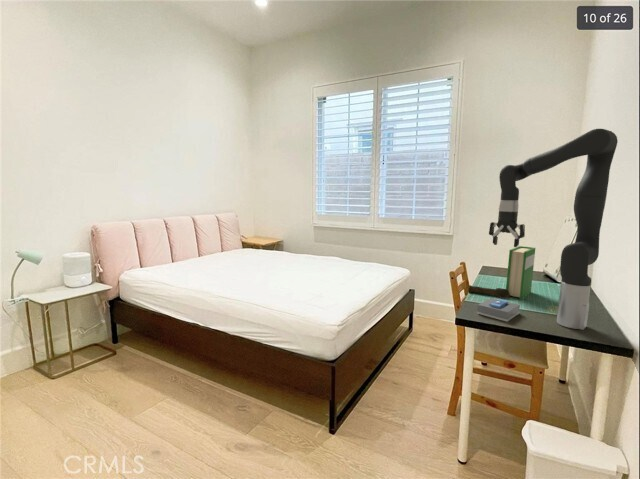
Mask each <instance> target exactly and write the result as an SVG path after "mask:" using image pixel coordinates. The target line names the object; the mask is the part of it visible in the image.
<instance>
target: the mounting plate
mask: <svg viewBox="0 0 640 479" xmlns="http://www.w3.org/2000/svg"><path fill="white" fill-rule="evenodd" d="M497 300H498V299H497V298H493V297H491V298H490V297H489V298H488V299H486V300H484V301H483V302H481V303H478V305H477V312H476V313H477V314H478V315H482V316H486V317H488V318H492V319H497V320H498V321H499V320H500V321H504V322H509V321H510V320H512V319H513V318H515V317H516V316H518V315H519V314H520V309H521V308H520V306H521V304H518V303H514V302H509V301H508V303H507V304H506V307H504V308H497V307H493V306H490V304H491V303H493V302H495V301H497Z"/></svg>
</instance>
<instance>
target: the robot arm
mask: <svg viewBox="0 0 640 479" xmlns="http://www.w3.org/2000/svg"><path fill="white" fill-rule="evenodd" d="M618 141H619V140H618V136H617V135H616V134H615V133H614V132H613V131H611V130H609V129H605V128H594V129H591V130H589V131H587V132H585V133H584V134H581V135H580V136H578V137H576V138H574V139H572V140H571V141H569V142H566V143H564V144H563V145H560V146H558V147H556V148H554V149H551V150H547V151H545V152H543V153H539V154H537V155H534V156H531V157H529V158H527V159H525V160H524V161H523V162H522V163H519V164H516V165H512V164H508V165H507V164H506V165H504V166H503V167H502V168H501V170H500V172H499V178H498V180H499V185H500V190H501V192H500V202H499V205H498V206H499V207H498V218H497V219H498V220H497V222H495V221H492V222H490V224H489V230H488V235H489V236H492V244H493V245H495V246H497V245H498V238H499V237H498V236H499V235H500V234H501V233H502V234H503V233H506V234H511V235H512V236H513V238H514V241H513V248H516V247H518V246H520V239H523V238H525V231H526V230H525V229H526V226H525V224H524V223H522V224H519V223H518V216H519V198H520V189H519V188H518V187H517V184H516V182H519V181H522V180H524V179H526V178H528V177H531V176H532V175H536V174H539V173H541V172H544V171H547V170H549V169H552V168H555V167H556V166H558V165H560V164H561V163H564V162H566V161H569V160H572V159H575V158H578V157H579V158H580V157H584V156H587V160H586V167H585V171H584V173H583V175H582V177H581V179H580V181H579V183H578V185H577V188H576V191H575V196H574V202H573V214H574V218H575V221H576V226H577V227H576V228H577V230H576V237H575V240H574V243H573V242H571V243H569V244H567V245H565V246H564V247H563V249H562V251H561V254H560V263H559V264H560V267H559V269H560V270H559V274H560V277H561V281H560V282H561V283H560V290H559V297H558V298H559V299H558V304H557V305H558V306H557V314H556V315H557V316H556V323H557V324H558V325H559V326H563V327H565V328H569V329H574V330H575V329H576V330H580V331H584V330H585V329H586V327H588V326H587V325H588V319H589V310H590V302H589V301H590V296H591V295H590V293H591V285H592V278H591V276H589V275H588V270H589V266H590V265H593V264H594V263H595V262H596V261H597V260H598V258H599V255H600V253H599V252H600V233H601V228H602V222H603V218H604V217H603V216H604V212H605V207H606V201H607V194H608V188H609V182H610V180H609V179H610V172H611V171H610V170H611V166H612V162H613V159H614V156H615V152H616V149H617V146H618ZM496 226H497V228H498V229H496V230H495V228H496ZM517 228H518V230H519V233H518V231H517V230H516V229H517Z"/></svg>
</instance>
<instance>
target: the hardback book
mask: <svg viewBox="0 0 640 479" xmlns="http://www.w3.org/2000/svg"><path fill="white" fill-rule="evenodd" d="M508 252H509V253H508V262H507V274H506V275H507V276H506V285H505V289H507V290H508V291H509V293H510V296H511V297H515V298H519V300H523V299H525V298H526V297H527V296H529V294H530V293H532V286H533V284H532V283H533V277H534V276H533V275H534V265H535V258H536V256H535V255H536V247H533V246H532V247H530V246H521V245H518V246H517V247H513V248H511V249H509V251H508Z"/></svg>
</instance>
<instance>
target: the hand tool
mask: <svg viewBox="0 0 640 479" xmlns="http://www.w3.org/2000/svg"><path fill="white" fill-rule="evenodd" d="M468 293H475V294H482V295H489V296H490V295H491V296H494V297H496V298H502V299H510V293H509V291H508V290H507V289H506V288H501V287H496V288H488V287H482V286H476V285H474V286H473V285H471V284H470V285H468Z"/></svg>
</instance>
